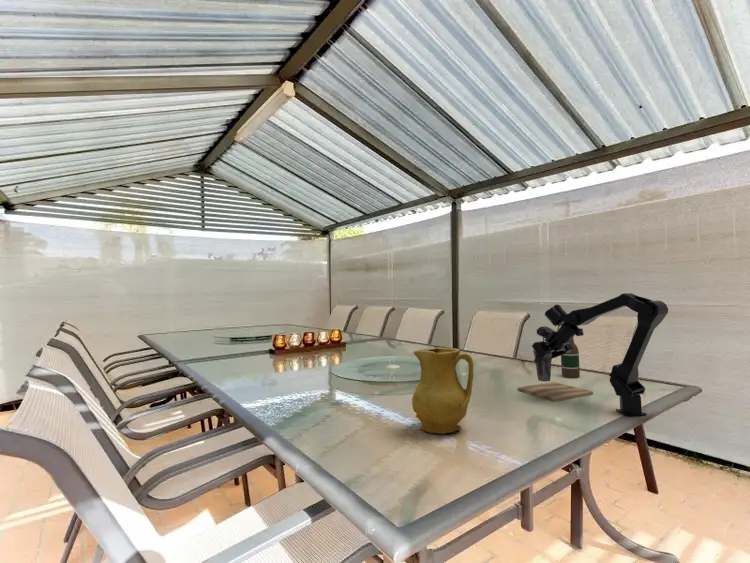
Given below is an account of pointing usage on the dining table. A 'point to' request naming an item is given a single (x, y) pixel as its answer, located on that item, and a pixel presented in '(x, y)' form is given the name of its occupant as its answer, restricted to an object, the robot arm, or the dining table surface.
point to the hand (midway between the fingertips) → (540, 360)
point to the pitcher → (441, 390)
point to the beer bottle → (570, 362)
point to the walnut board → (555, 391)
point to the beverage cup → (544, 367)
